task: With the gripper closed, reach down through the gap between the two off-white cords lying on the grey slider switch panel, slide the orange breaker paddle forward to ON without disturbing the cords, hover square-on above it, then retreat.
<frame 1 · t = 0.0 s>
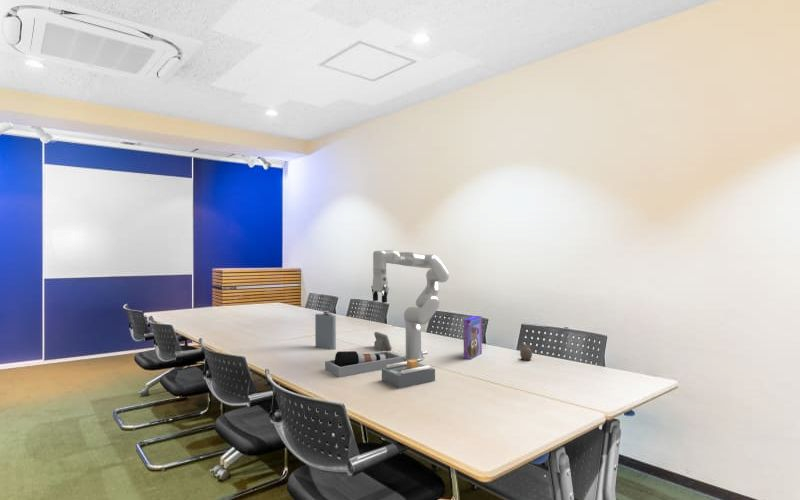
hand: (379, 301, 259), 37 cm above the table, fingers open, 9 cm apart
cereal box: (472, 356, 280), on the table
cord right: (401, 366, 234), point 6 cm above the table, touching grey slider switch panel
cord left: (415, 371, 223), point 6 cm above the table, touching grey slider switch panel
grey rock: (382, 349, 301), on the table
cable: (365, 367, 254), resting in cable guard
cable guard: (364, 367, 253), on the table
flask: (326, 347, 305), on the table
vase: (526, 359, 270), on the table
breaker paddle: (412, 364, 230), point 8 cm above the table, slide at 0.0 cm
grey slider switch panel: (408, 380, 229), on the table
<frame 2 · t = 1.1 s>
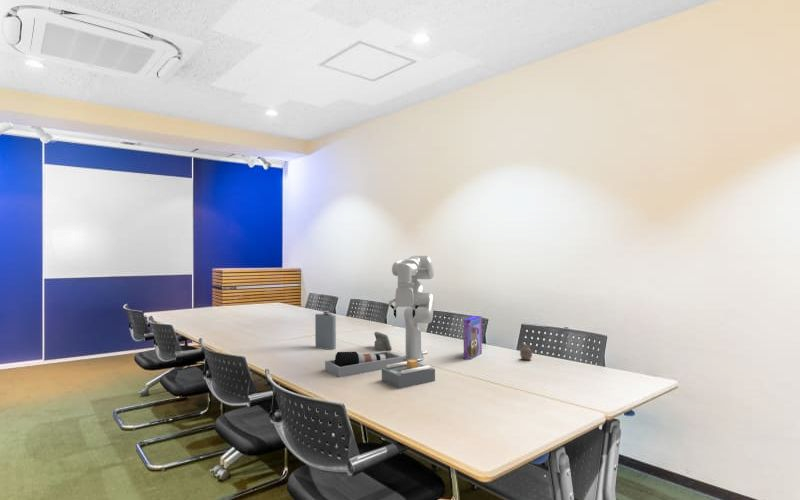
hand: (404, 317, 244), 30 cm above the table, fingers open, 9 cm apart
nothing on the table moved.
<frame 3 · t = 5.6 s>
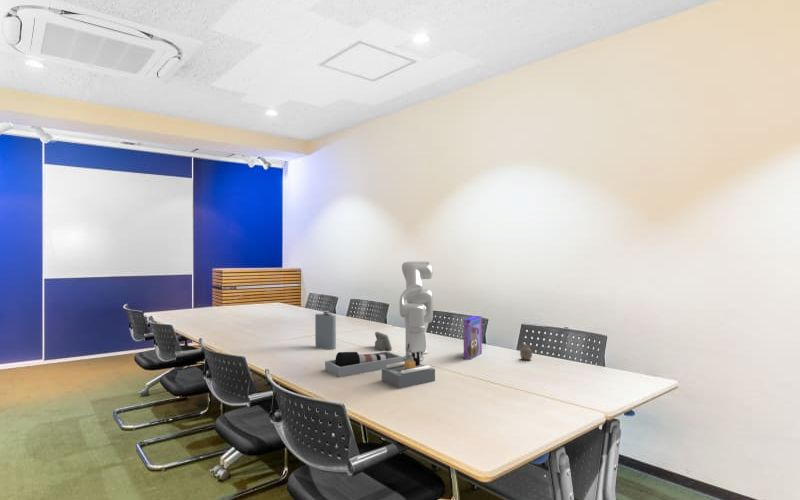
hand: (416, 365, 231), 7 cm above the table, fingers closed
breaker paddle: (409, 364, 229), point 8 cm above the table, slide at 1.5 cm, touching gripper
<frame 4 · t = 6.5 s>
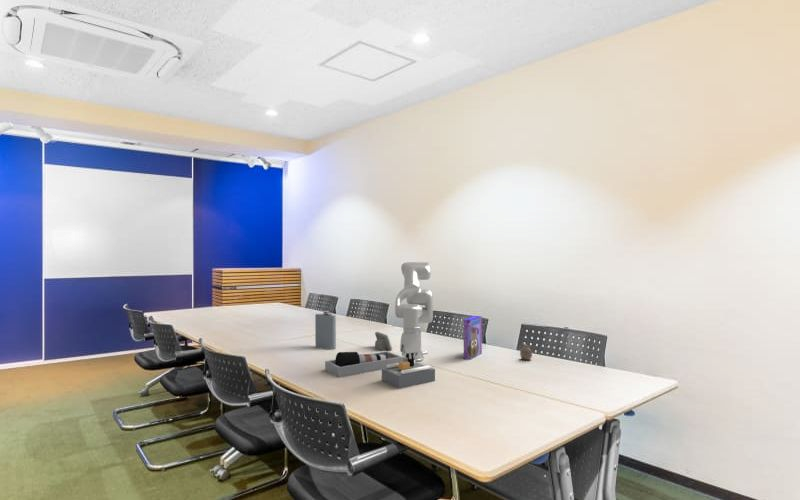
hand: (410, 366, 229), 7 cm above the table, fingers closed
breaker paddle: (404, 365, 227), point 8 cm above the table, slide at 5.0 cm, touching gripper
everything else where it was.
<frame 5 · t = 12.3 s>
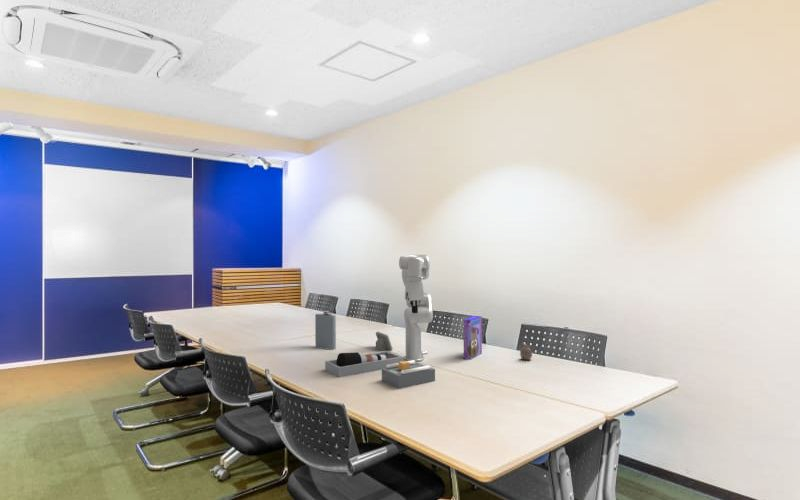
hand: (414, 312, 246), 32 cm above the table, fingers closed
breaker paddle: (404, 365, 227), point 8 cm above the table, slide at 5.1 cm
at the end: breaker paddle slide at 5.1 cm; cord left moved 0.0 cm from its start; cord right moved 0.0 cm from its start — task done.
